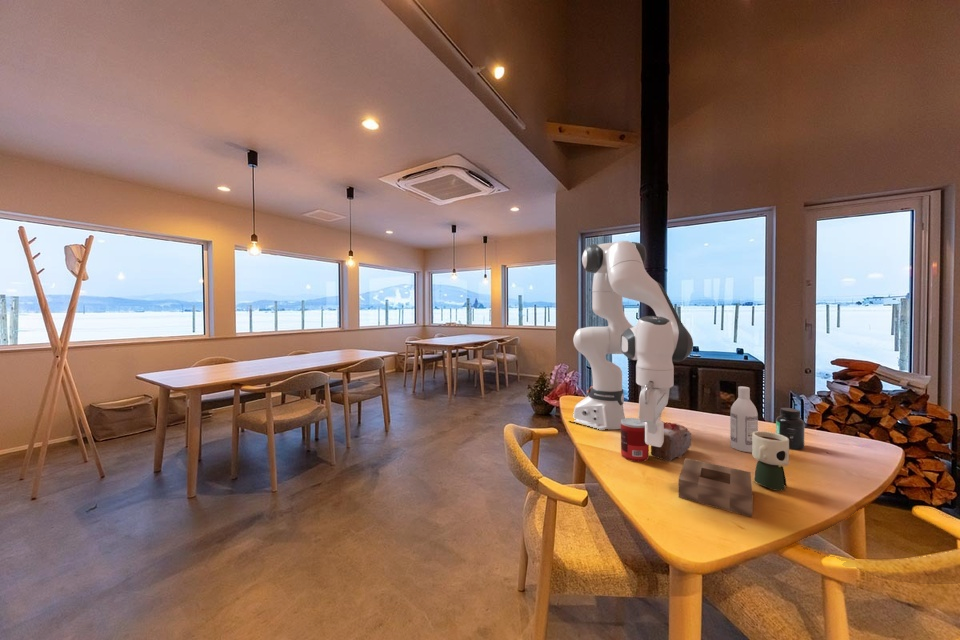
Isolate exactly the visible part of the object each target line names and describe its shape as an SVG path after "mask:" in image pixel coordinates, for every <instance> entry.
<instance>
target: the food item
mask: <svg viewBox="0 0 960 640" xmlns="http://www.w3.org/2000/svg"><path fill="white" fill-rule="evenodd" d="M663 422H664V421H663ZM691 446H692V433H691V432H690V431H689V429H688V428H687V427H685V426H684V425H682V424H680V423H674V422H664V442H663V444H662V446H661V447H656V446H651V445H650V455H651V456H652V457H654V458H657V459H661V460H664V461H666V462H671V461H673V459H675V458H682V456H684V455H683V454H685V453H686V452H687V451H688V449H690V447H691Z"/></svg>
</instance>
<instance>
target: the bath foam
mask: <svg viewBox="0 0 960 640" xmlns="http://www.w3.org/2000/svg"><path fill="white" fill-rule="evenodd" d="M750 391H751V388H750V387H748V386H741V385H740V386H738V387H737V392H738V393H737V395H738V397H737V399H736V400H735V401H734V402H733V403H732V405H731V407H730V411H729V412H730V413H729V414H730V419H729V420H730V428H729V429H730V430H729V431H730V434H729V435H730V436H729V437H730V447H731V448H733V450H737V451H739V452H743V453H751V454H752V433H753V432H756V431H759V427H758V426H759V414H758V410H757V408H756V407H757V406H755V404H754V402H752V400H751V396H750V394H751V392H750Z"/></svg>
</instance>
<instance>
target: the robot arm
mask: <svg viewBox="0 0 960 640" xmlns="http://www.w3.org/2000/svg"><path fill="white" fill-rule="evenodd" d="M581 261H582V266H583V269H584V270H585V271H586V272H587V273H590V274H593V278H592V288H591V289H592V296H591V297H592V298H591V299H592V301H591V302H592V304H591V306H592V309H591V310H592V312H593V313H594V314H595V315H596V316H598V317H599V318H602V319H603V320H607V326H587V327H581V328H578V329H577V330H576V331H575V333H574V335H573V347H574V348H575V349H576V351H577V352H579V353H580V354H581V355H583V356H584V357H585V359H586V360H587V361H588V363H589V365H590V368H591V376H592V386H590V387H589V388H588V389H587V390H586V393H587V394H588V395H587V396H586V397H584V398H583V399H582V400H580V401H578V403H576V404H575V406H574V409H573V413H574V414H573V413H572V414H573V418H574V419H576V420H574V421H575V422H578V423H581V424H584V425H587V426H590V427H593V428H592V429H594V428H597V429H596V430H598V429H599V430H598V431H606V430H605V429H608V430H621V420H622V419H625V418H626V415H625V412H624V403H625V402H624V401H625V394H624V393H625V392H624V389H623V371H622V369H621V367H620V366H618V365H617V364H616V363H614V362H612V361H610V360H608V359H607V355H624V356H625V357H626V358H627V359H629V360H633V361H636V364H635V383H636V384H637V385H638V386H640V392H639V397H638V398H639V399H638V419H639V420H640V421H642V422H646V423H647V425H648V432H649V433H653V434H655V433H656V420H657V419H658V417H659V416H660V414H661V415H662V413H663V411H664V410H665V407H666V406H667V405H668V402H669V397H670V389H671V388H673V387H674V386H675V385H674V382H675V381H674V379H675V378H674V375H675V373H674V372H675V370H674V369H675V367H674V363H673V362H677V363H680V362H682V361H684V360H686V359H687V358H688V357H689V356H690V355H691V353H692V351H693V349H694V340H693V337H692V336H691V334H690V332H689V330H688V329H687V328H686V327H685V326H684V324H683V322H682V320H681V318H680V316H679V315H678V313H677V311H676V309H675V307H674V305H673V303H672V301H671V299H670V297H669V296H668V294H667V292H666V289H665V288H664V287H663V286H662V284H661V283H660V282H658V281H656V280H655V279H653V278H652V277H651V276H650V274H649V273H648V272H647V270H646V268H645V264H646V261H647V250H646V247H645V246H644V244H643V243H641V242H635V241H632V242H631V241H629V240H620V241H615V242H607V243H600V244H597V243H594V244H590V245H587V246H585V248H584V250H583V252H582V256H581ZM623 298H625V299H629V300H632V301H636V302H639V303H643V304H644V305H647V306H649V307H650V308H651V309H652V310H653V312H654V314H655V315H646V316H643V317H640V318H639V319H638V320H637V324H636V325H634V326H633V324H631V323H630V322H629V320H628V318H627V317H626V315H625V311H624V306H623ZM587 426H586V427H587ZM590 427H589V428H590Z"/></svg>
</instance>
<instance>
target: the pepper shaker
mask: <svg viewBox="0 0 960 640" xmlns="http://www.w3.org/2000/svg"><path fill="white" fill-rule="evenodd" d="M661 418H662V413H661V414H660V416H659V417H658V419H657V420H656V433H655V434H653V433H649V432H648V425H647V423H646V422H645V443H646V444H647V445H649V446H650V447H651V446H656V447H661V446H662V444H663V442H664V420H662V419H661Z"/></svg>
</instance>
